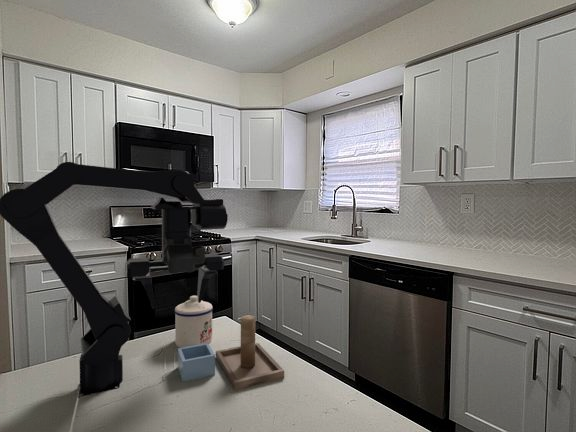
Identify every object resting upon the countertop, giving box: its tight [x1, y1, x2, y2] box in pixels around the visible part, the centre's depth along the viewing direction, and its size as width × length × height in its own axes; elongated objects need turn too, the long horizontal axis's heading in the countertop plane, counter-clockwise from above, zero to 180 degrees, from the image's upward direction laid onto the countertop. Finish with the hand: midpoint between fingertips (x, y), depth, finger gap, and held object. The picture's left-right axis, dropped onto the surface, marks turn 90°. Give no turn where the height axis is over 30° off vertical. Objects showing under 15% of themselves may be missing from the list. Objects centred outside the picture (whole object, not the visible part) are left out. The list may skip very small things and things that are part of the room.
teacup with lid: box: [173, 295, 214, 348], centre depth 82 cm, size 12×9×12 cm
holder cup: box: [177, 343, 216, 383], centre depth 67 cm, size 6×6×4 cm
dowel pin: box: [240, 314, 256, 369], centre depth 68 cm, size 3×3×10 cm
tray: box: [215, 342, 285, 391], centre depth 68 cm, size 10×14×2 cm
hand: (176, 305), depth 69 cm, fingers open, 9 cm apart
